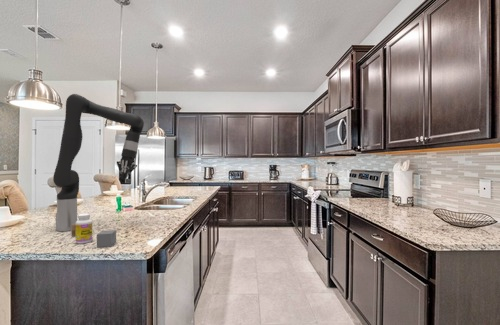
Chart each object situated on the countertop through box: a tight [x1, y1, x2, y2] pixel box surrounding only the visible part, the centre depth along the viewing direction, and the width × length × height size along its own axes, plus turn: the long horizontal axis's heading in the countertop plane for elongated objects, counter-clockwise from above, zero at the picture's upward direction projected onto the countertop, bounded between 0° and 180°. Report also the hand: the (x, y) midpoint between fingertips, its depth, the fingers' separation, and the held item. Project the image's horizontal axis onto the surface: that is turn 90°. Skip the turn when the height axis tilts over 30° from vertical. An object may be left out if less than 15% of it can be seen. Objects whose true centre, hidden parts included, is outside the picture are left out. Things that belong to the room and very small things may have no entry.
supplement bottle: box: [75, 213, 93, 245], centre depth 118 cm, size 7×7×13 cm
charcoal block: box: [96, 229, 117, 249], centre depth 114 cm, size 6×6×6 cm
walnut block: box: [71, 223, 76, 238], centre depth 130 cm, size 6×6×6 cm
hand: (123, 179), depth 143 cm, fingers closed
